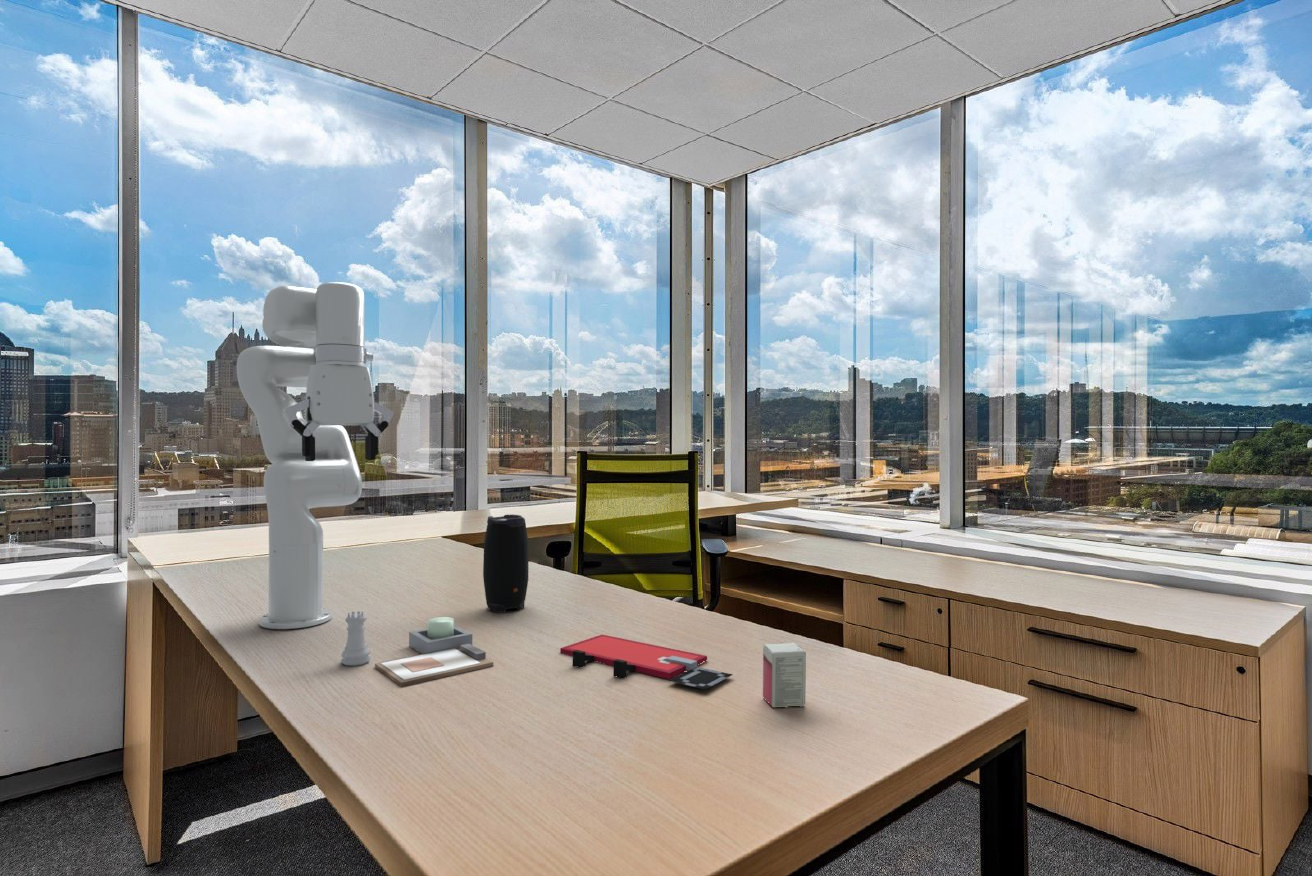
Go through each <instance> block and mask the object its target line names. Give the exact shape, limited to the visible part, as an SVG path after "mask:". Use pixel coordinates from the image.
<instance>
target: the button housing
mask: <svg viewBox="0 0 1312 876" xmlns="http://www.w3.org/2000/svg"><path fill="white" fill-rule="evenodd" d="M408 635H409V636H408V646H409V647H410V648H411V647H412V649H413V650H415V651H416V652H418V653H420V654H425V653H427V654H429V653H434V652H439V651H444V650H449V649H454V648H460V645H465V644H471V645H473V633H471V632H469V631H467V630H465V629H463V628H461V627H458V626H457V625H455V624H454V636H450V637H445V638H440V639H434V640H430V639H428V638H427V628H423V629H418V630H412V631H411V630H410V631H409V633H408Z"/></svg>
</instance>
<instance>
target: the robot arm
mask: <svg viewBox="0 0 1312 876" xmlns="http://www.w3.org/2000/svg"><path fill="white" fill-rule="evenodd" d="M262 313H263V319H262V324H261V325H262V331H263V333H264V335H265V336H266V338H267V339H268V340H269V341H271V342H272V343H275V344H276V345H256V346H250V347H248V348H246V349H245V348H244V350H242V351H241V352H240V353H239V354H238V357H237V359H236V360H237V361H236V377H237V381H238V385H239V386H238V387H239V389H240V391H241V393H242V394H241V395H242V396H243V397H244V399H245V401H246V404H247V405H248V406H249V408H250V409H251V411H252V412H253V414H254V417H255V419H256V423H257V427H258V428H257V429H258V431H259V434H260V439H261V443H262V447H263V451H264V454H265V457H266V458H267V460H268V462H269V463H271V465H269V466H268V467H267V468H266V470H265V472H264V475H263V490H264V496H265V500H266V501H265V502H266V508H267V509H266V510H267V516H268V517H267V519H268V613H266V614H264V615H262V616H260V618H259V620H258V622H259V626H260V627H261V628H265V629H270V630H293V629H301V628H308V627H314V626H318V625H321V624H323V623H326V622H328V621H330V620H331V619H332V611H331V610H329V609H327V608H324V605H323V604H324V530H323V528H322V525H321V523H320V522H319V521H318V520H317V518H315V517H314V515H313V514H312V513H311V512H310V509H316V508H327V507H342V506H348V505H352V504H354V503H356V502H357V501H358V500H359V499H360V497H361V495H362V491H363V482H362V481H363V479H362V474H361V471H360V467H359V464H358V461H357V457H356V455H355V451H354V449H353V445H352V443H351V439H350V437H349V433H348V431H347V429H346V428H345V426H347V427H349V426H350V427H351V426H352V427H354V426H355V427H356V426H360V427H361V428H362V429H363V430H364V431H365V432H366V433H367V436H365V437H364V451H365V452H364V455H365V456H364V459H365V460H367V461H375V460H376V458H377V456H378V455H379V437H380V436H381V434H382V433H383V432H385V430H386V429H387V428H388V427H389V424H390V423H391V420H392V418H393V416H394V414H395V413H394V411H393V410H391V409H389V408H388V407H385V405H384V406H383V405H382V404H380V403H379V402H376V401H375V399H374V397H375V396H374V389H373V383H372V376H371V372H370V368H369V367H368V366H366V364H367V363H368V362H373V361H374V355H373V353H369V352H367V348H366V345H365V337H366V336H365V326H366V325H365V321H366V320H365V317H366V315H365V293H364V290H363V289H362V288H361V287H360V286H358V285H356V284H352V283H348V282H341V281H340V282H339V281H338V282H337V281H335V282H334V281H330V282H324V283H321V284H319V285H318V286H317V288H309V287H301V286H300V287H299V286H291V285H290V286H289V285H282V286H278V287H275V288H273V289H271V290H270V291H269V292H268V293H267V295H266V297H265V299H264V304H263V309H262ZM279 387H284V388H285V387H287V388H289V387H291V388H306V392H305V399H304V400H302V401H299V402H297V401H296V400H295V399H294V398H293V397H292V396H290V395H289V394H288V393H287V392H285V391H284V390H282V389H280V388H279ZM303 410H304V415H303V412H302V411H303ZM375 413H378V414H379V415H380V416H381V418H380V420H379V422H378V423H376V424H375V423H374V421H375V420H374V419H375ZM303 416H304V417H303ZM304 418H305V419H304Z"/></svg>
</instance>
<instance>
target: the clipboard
mask: <svg viewBox="0 0 1312 876" xmlns="http://www.w3.org/2000/svg"><path fill="white" fill-rule="evenodd" d="M486 654H487V652H486V651H484V650H482V649H480V648H478V647H476V646H475V645H473V644H472V645H471V644H465V645H460V648H454V649H449V650H444V651H439V652H434V653H429V654H427V653H425V654H421V653H420V654H416V655H411V656H410V655H409V656H407V657H401V658H395V659H391V660H387V661H381V662H376V663H374V668H375V669H376V670H378V671H379V672H380V673H382V674H384V675H385V676H386V677H387V678H389V679H390V680H392V681H393V682H395V683H396V684H397V685H399V686H400V687H401V688H402V687H405V686H410V685H414V684H419V683H423V682H428V681H431V680H432V681H433V680H436V679H442V678H446V677H449V676H454V675H458V674H464V673H467V672H471V671H472V670H473V671H476V670H482V669H485V668H490V667H494V661H492V660H490V659H488V658H487V657H486Z"/></svg>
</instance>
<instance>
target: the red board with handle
mask: <svg viewBox="0 0 1312 876" xmlns="http://www.w3.org/2000/svg"><path fill="white" fill-rule="evenodd" d="M559 653H560V654H563V653H564V655H567V654H568V655H567V656H571V655H572V666H573V667H575V666H578V667H577V668H579V667H583V666H585V667H586V662H591V663H592V661H598V662H601V663H600V664H602V663H605V664H604V665H607V664H609V665H608V666H611V667H613V676H617V677H620V678H619V679H621V678H624V679H626V678H627V677H628V675H627V673H628V672H637V671H638V672H637V673H641V674H646V675H650V676H654V675H655V676H654V677H659V678H662V679H667V681H668V682H672V683H675V684H676V683H677V684H681V685H685V686H689V687H693V688H698V689H702V690H707V689H708V688H711V687H712V686H715V685H717V684H718V683H720V682H721V681H724V680H726V679H728V678H729V677H731V676H733V674H732V673H728V672H723V671H718V670H713V669H708V668H705V667H699V666H697V665H698V664H700V663H702V662H703V661H706V660H707V661H708V655H704V654H700V653H694V652H689V651H685V650H679V649H675V648H671V647H665V646H661V645H656V644H650V643H647V642H646V643H645V642H641V641H636V640H630V639H626V638H621V637H618V636H612V635H607V634H599V635H596V636H594V637H590V638H587V639H585V640H584V639H583V640H581V641H578V642H575V643H571V644H568V645H566V646H563V647H560V651H559ZM598 662H597V663H598ZM583 668H584V667H583ZM684 671H687V672H684ZM683 672H684V673H683ZM681 673H682V674H681ZM679 674H680V675H679ZM676 675H677V676H676ZM613 676H612V677H613ZM674 676H675V677H674ZM617 677H616V678H617ZM625 677H626V678H625Z"/></svg>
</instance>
